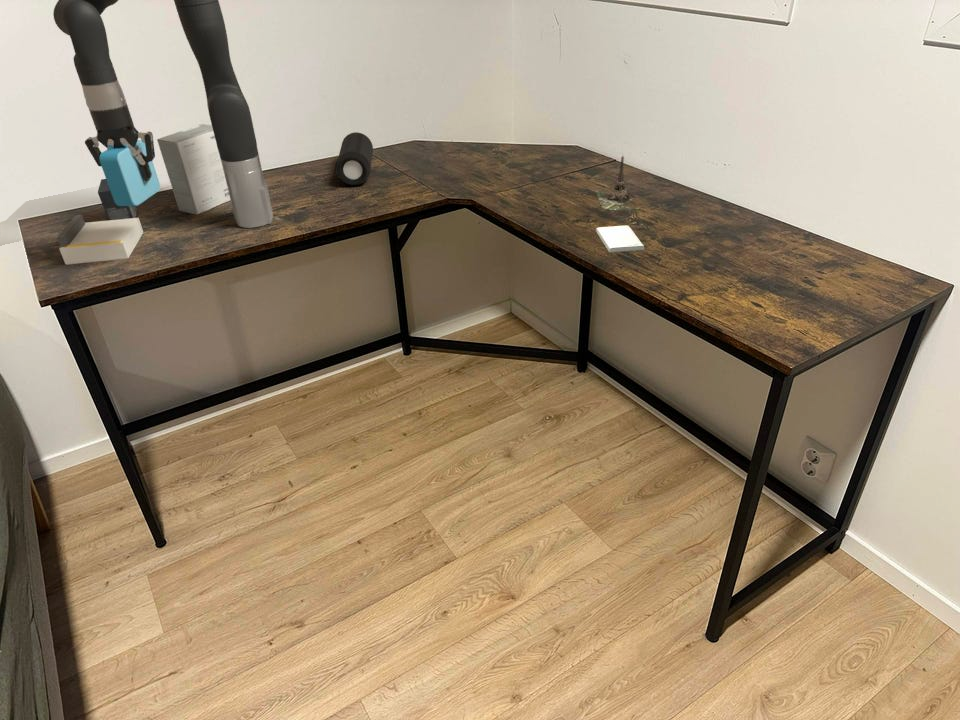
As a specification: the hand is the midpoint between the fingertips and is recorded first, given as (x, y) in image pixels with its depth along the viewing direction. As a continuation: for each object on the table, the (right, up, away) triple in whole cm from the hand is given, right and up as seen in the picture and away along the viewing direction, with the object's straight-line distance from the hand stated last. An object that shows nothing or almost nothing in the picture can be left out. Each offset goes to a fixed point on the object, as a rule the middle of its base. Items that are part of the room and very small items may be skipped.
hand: (133, 181), depth 152 cm
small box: (-17, -3, +28) cm, 33 cm away
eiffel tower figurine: (+116, +2, +30) cm, 120 cm away
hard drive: (+112, -13, +8) cm, 113 cm away
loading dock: (-14, -13, +13) cm, 23 cm away
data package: (0, -4, +2) cm, 4 cm away
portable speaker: (+41, +17, +54) cm, 70 cm away
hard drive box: (+2, +3, +36) cm, 37 cm away
